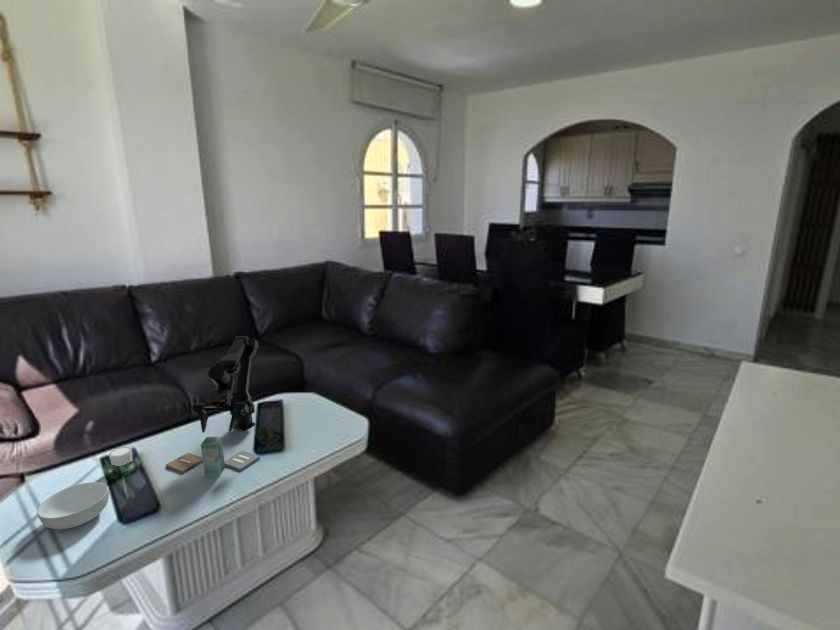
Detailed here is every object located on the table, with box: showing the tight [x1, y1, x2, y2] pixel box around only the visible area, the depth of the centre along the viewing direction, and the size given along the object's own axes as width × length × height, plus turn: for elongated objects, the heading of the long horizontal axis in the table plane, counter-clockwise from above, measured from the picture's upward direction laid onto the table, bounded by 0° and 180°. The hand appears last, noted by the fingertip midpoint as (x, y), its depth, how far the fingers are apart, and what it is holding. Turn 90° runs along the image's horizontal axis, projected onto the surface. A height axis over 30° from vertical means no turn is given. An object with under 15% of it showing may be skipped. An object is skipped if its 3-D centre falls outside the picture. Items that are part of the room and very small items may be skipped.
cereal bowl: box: [37, 481, 110, 530], centre depth 136 cm, size 17×17×7 cm
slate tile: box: [224, 450, 261, 472], centre depth 167 cm, size 9×9×1 cm
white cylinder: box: [108, 446, 133, 466], centre depth 162 cm, size 7×7×7 cm
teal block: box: [200, 436, 226, 478], centre depth 159 cm, size 5×5×12 cm
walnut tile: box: [165, 452, 203, 474], centre depth 165 cm, size 9×9×1 cm
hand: (216, 432), depth 162 cm, fingers open, 9 cm apart
